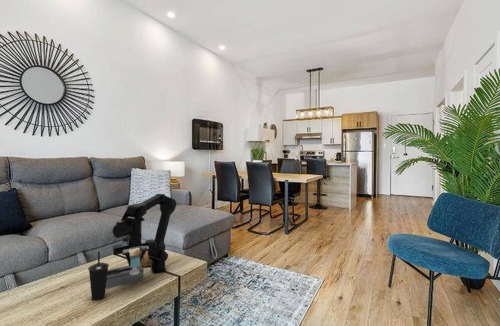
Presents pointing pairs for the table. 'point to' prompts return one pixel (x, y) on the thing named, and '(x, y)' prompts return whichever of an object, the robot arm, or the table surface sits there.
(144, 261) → the bread roll
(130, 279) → the keyhole plate
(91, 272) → the drinking cup
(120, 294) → the table surface
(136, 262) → the peg
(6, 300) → the table surface
